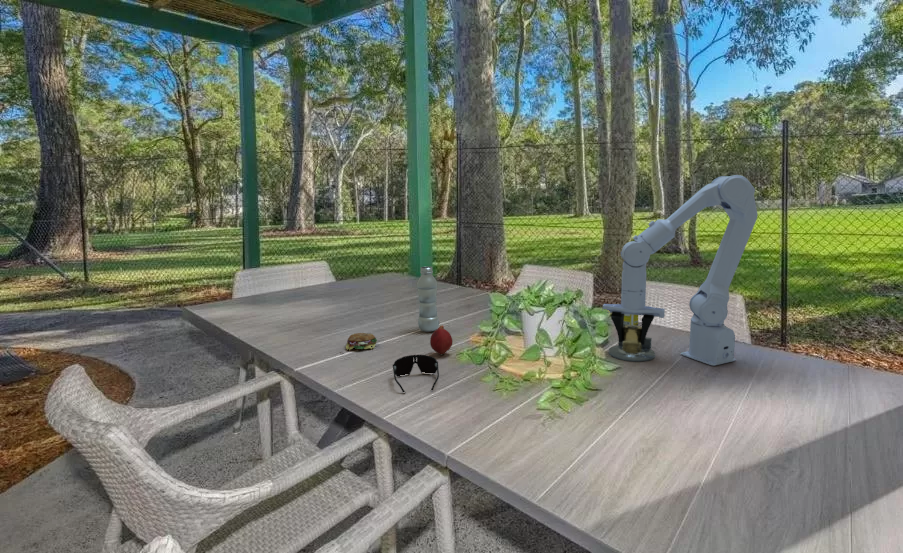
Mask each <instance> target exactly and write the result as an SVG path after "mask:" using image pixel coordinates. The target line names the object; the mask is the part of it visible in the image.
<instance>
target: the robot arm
mask: <svg viewBox="0 0 903 553" xmlns="http://www.w3.org/2000/svg"><path fill="white" fill-rule="evenodd" d="M755 192H756V189H755V187H754V186H753V184H752V183H751V182H750V181H749V179H748V178H747V177H745V176H743V175H740V174H735V175H734V174H733V175H730V176H729V175H728V176H727V175H721V176H718V177H716V178H714V179H713V180H712V181H711V183H707V184H706V185H704V186H703V187H702V188H700V189H699V190H698V191H696V193H694V194H693V195H692V196H691V197H689V199H688V200H687V201H685V202H684V203H683V204H682V205H681V206H680V207H678V209H677V210H675V211H674V212H673V213H672V214H671V215H669V217H667V218H666V219H662V218H661V219H659V218H658V219H656V221H654V220H651V221H650V222H649V223H648V227H647V228H646V229H644V230H643V231H642V232H641V233H639V234H638V235H636V234H635V235H634V236H633V237H632V239H633V240H632V241H628V242H626V243H625V244H624V245H623V246H622V249H621V251H620V257H621V258H622V260H623V261H622V271H621V292H620V295H621V296H620V298H621V301H620V303H617V304H616V303H611V304H610V303H603V305H602V310H603V309H607V310H609V311H610V313H611V315H610V319H611V320H612V323H613V325H614V326H615V330H616V334H617V336H618V337H617V338H618V342H622V341H623V323H624V314H632V315H638V316H642V317H641V327H642V335H641V344H642V345H644V343H645V338H646V337H647V334H648V332H649V329H650V326H651V324H652V322H653V321H654V320H655V317H658V318H661V319H662V318H663V319H664V318H665V312H666V309H665V308H661V307H655V306H648V305H646V302H647V301H646V299H647V298H646V296H647V295H646V294H647V274H648V272H647V264H648V262H649V260H650V256H651V255H653V254H655V253H656V252H658V251H659V250H661V249H662V248H663V247H664V246H665V245H667V244H668V243H669V242H670V241H672V239H674V238H675V237H676V230H677V229H678V228H680V227H682V225H683V224H684V223H686V222H687V221H689V220H690V219H692V218H693V217H695V215H697V214H698V213H700V212H701V211H703V210H704V209H705V208H709V207H714V206H719V205H720V206H721V207H722V208H723V210H724V211H725V213H726V214H727V216H728V218H729V221H728V223H727V225H726V227H725V228H726V229H725V231H724V234H723V236H722V239H721V241H720V244H719V246H718V248H717V250H716V253H715V256H714V259H713V261H712V263H711V265H710V269H709V272H708V274H707V276H706V278H705V281H704V282H702V283H701V285H700V286H699V288H698V291H697V292H695V294H694V295H692V296H691V298H690V300H689V304H688V306H689V309H690V311H691V313H693V314H692V317H691V318H690V324H689V325H690V326H689V327H690V328H689V344H688V347H689V348H688V350H687V351H683V352H680V355H681V356H684V357H687V358H689V359H692V360H695V361H698V362H700V363H704V364H707V365H710V366H712V367H713V366H718V365H723V364H727V363H731V362H736V361H737V358H735V344H736V335H735V331H734V330H733V329H732V328H730V327H727V325H725V320H726V319H727V317H728V312H729V310H728V303H729V300H730V289H729V288H730V286H731V284H732V281H733V278H734V276H735V274H736V271H737V268H738V266H739V263H740V261H741V258H742V256H743V254H744V252H745V248H746V246H747V243H748V242H749V239H750V237H751V233H752V231H753V229H754V227H755V225H756V222H757V220H758V215H759V214H758V210H757V203H756V199H755V194H756V193H755Z"/></svg>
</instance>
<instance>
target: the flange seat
mask: <svg viewBox="0 0 903 553" xmlns="http://www.w3.org/2000/svg"><path fill="white" fill-rule="evenodd" d="M652 342H653V341H652V337H647V336H646V338H645V343H644V345H642V351H641V352H639V353H629V352H625V351H623V341H622V342H619V341H618V342H617V343H618V345H613V346H611V347H610V348H608V354H609V356H610V357H612V358H614V359H615V360H616V359H617V360H621V361H625V362H633V363H634V362H635V363H641V362H649V361H652V360H654V359H655V358H656V352H655V351H654V350H653V349H652Z"/></svg>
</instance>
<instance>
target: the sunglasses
mask: <svg viewBox="0 0 903 553" xmlns="http://www.w3.org/2000/svg"><path fill="white" fill-rule="evenodd" d="M415 364H416V365H417V367H418V369H419V371H420V373H421V374H422V372H425V373H435V374H437V376H436V379H435V380H434V382H433V384H432V387H431V388H430V391H431V390H433V391H434V388H435V386H436V384H437V382H438V380H439V377H440V371H439V369H440V368H439V361H437V359H436V358H435V357H433V356H431V355H427V354H410V355H405V356H402V357H399V358H397V359H396V360H395V361H394V363H393V364H392V372H393V378H394V381H395V382H396V383H397V385H398V386H399V388H400V389H401V391H402V393H403V392H405V393H406V391H405V390H404V388H403V386H402V385H401V383H400V382H399V381H398V379H397V377H398V376H400V375H405V374H409V375H411V372H412V371H413V368H414V365H415Z"/></svg>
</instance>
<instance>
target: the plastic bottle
mask: <svg viewBox="0 0 903 553" xmlns="http://www.w3.org/2000/svg"><path fill="white" fill-rule="evenodd" d="M419 273H420V277H419V278H418V280H417V283H416V288H417V289H416V290H417V295H418V301H419V302H418V304H419V308H418V310H419V311H418V312H419V313H418V319H417V320H418V321H417V325H418V329H419V330H420V332H421V331H422V332H427V333H428V332H434V331H435V330H437V329H438V328H439V327H440V325H439V324H440V320H439V315H438V310H437V309H438V308H437V294H438V281H437V279H436V277H434V275H433V273H434V271H433V266H421V267H420V272H419Z"/></svg>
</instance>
